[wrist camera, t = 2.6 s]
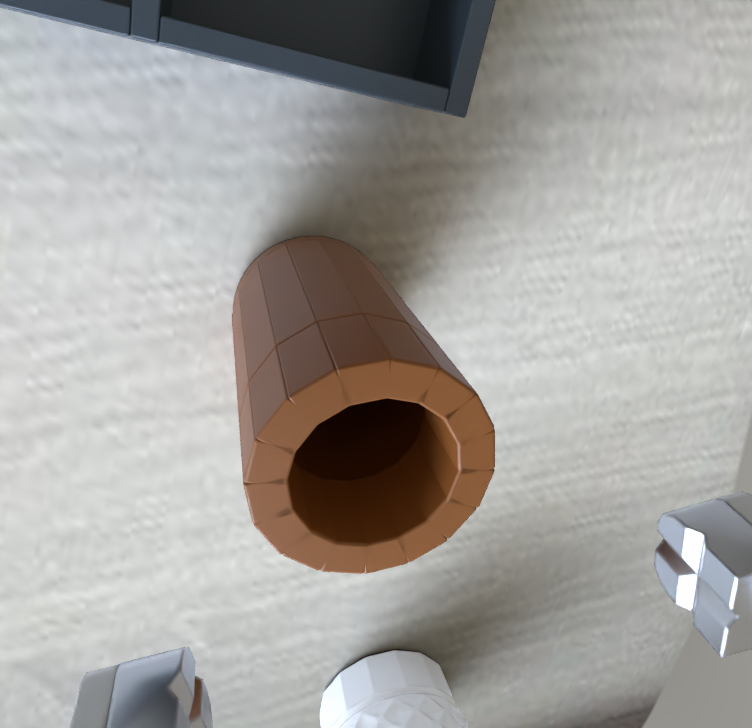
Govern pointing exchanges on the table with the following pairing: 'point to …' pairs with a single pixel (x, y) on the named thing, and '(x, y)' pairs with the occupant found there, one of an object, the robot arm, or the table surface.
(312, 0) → the compartment tray
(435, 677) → the white cup
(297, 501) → the jar
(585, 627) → the table surface
